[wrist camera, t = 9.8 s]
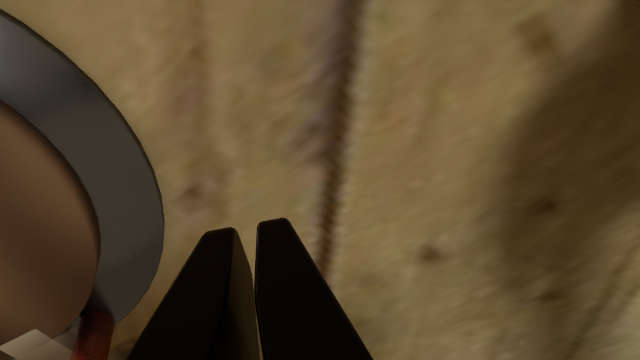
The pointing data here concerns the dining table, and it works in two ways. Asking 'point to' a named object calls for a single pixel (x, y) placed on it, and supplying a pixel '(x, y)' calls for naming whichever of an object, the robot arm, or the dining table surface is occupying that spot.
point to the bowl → (90, 174)
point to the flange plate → (42, 244)
